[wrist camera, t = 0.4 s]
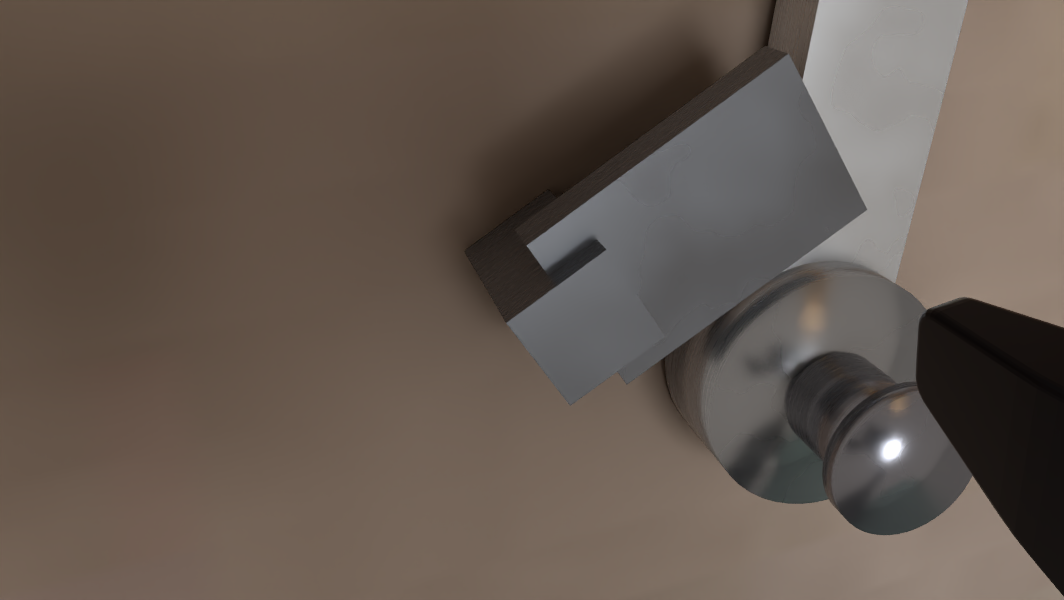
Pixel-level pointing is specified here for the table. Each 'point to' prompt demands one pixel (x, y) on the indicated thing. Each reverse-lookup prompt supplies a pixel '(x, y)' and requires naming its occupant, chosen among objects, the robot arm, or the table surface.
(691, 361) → the link
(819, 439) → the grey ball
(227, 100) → the table surface
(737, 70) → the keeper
